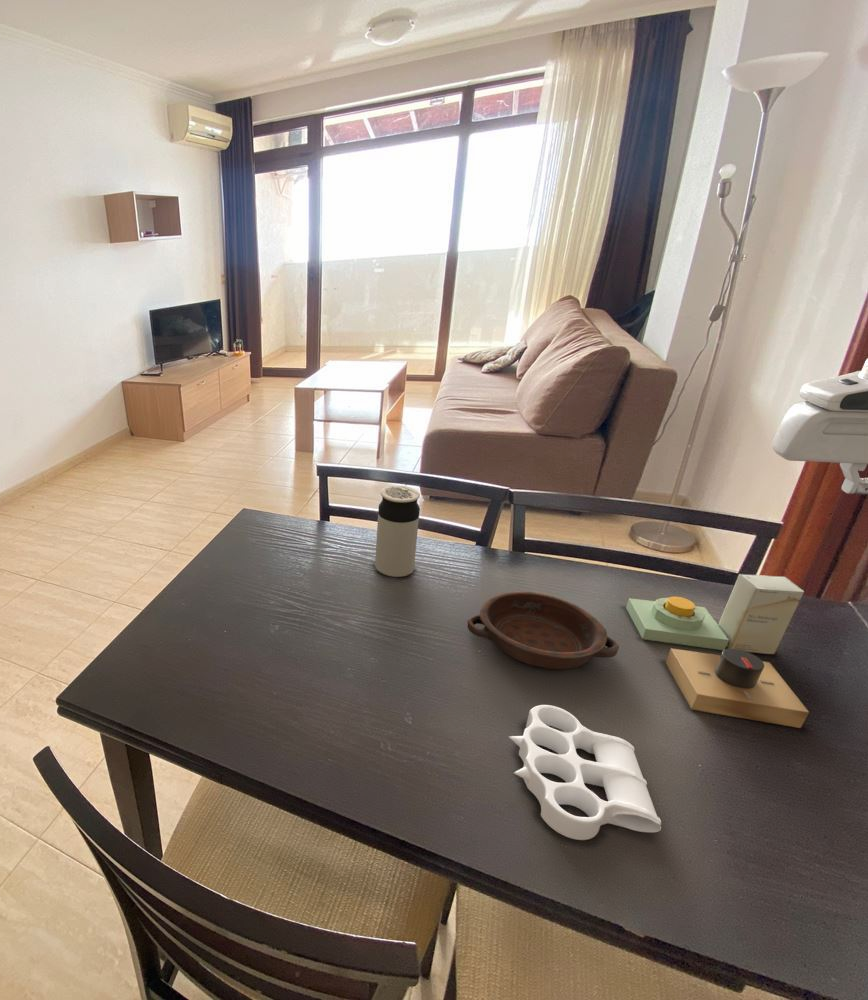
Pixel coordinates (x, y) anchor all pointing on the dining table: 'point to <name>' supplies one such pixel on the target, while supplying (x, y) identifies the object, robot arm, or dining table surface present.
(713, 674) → the dial panel
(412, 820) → the dining table surface
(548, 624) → the dish
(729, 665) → the dial
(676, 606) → the button
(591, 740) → the knuckle duster
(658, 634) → the button housing
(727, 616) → the cosmetic box
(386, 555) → the travel mug
